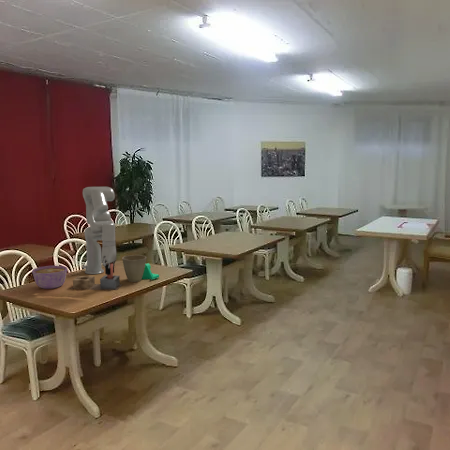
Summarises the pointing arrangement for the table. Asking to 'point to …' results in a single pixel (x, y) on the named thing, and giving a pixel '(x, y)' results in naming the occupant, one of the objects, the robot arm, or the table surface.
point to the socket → (109, 282)
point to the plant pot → (134, 267)
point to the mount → (84, 282)
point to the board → (97, 287)
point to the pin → (111, 271)
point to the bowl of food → (49, 276)
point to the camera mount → (149, 273)
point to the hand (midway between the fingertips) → (109, 273)
